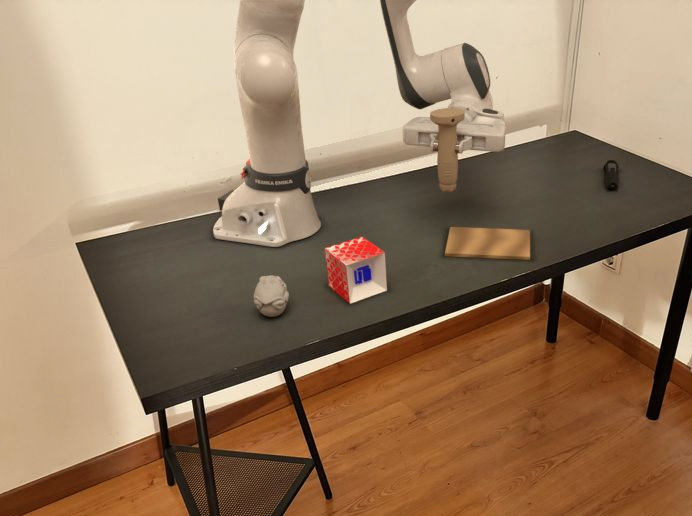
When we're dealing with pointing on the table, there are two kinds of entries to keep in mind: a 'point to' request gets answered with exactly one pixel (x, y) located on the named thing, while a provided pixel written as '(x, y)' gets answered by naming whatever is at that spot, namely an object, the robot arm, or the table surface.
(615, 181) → the electric trimmer
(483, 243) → the oak board
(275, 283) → the frog figurine
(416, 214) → the table surface
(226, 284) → the table surface
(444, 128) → the handle
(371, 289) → the red and white cube
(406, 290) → the table surface
